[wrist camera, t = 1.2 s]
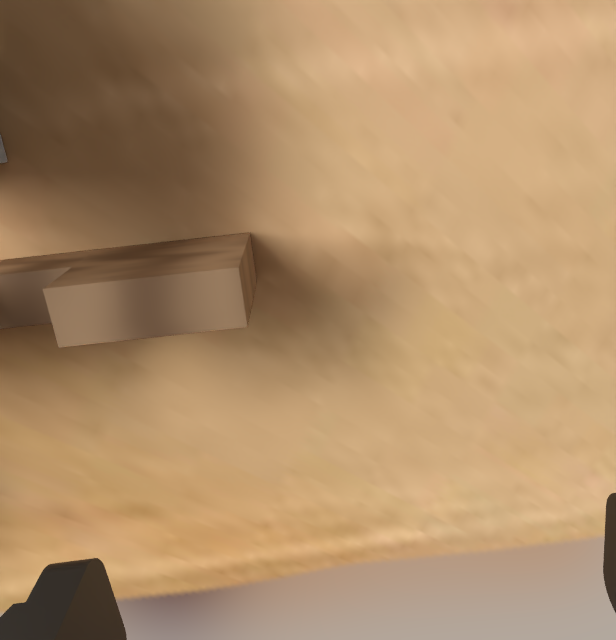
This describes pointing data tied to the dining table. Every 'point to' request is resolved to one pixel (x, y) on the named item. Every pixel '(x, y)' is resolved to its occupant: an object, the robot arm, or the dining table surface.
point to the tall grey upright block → (2, 152)
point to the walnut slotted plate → (132, 290)
